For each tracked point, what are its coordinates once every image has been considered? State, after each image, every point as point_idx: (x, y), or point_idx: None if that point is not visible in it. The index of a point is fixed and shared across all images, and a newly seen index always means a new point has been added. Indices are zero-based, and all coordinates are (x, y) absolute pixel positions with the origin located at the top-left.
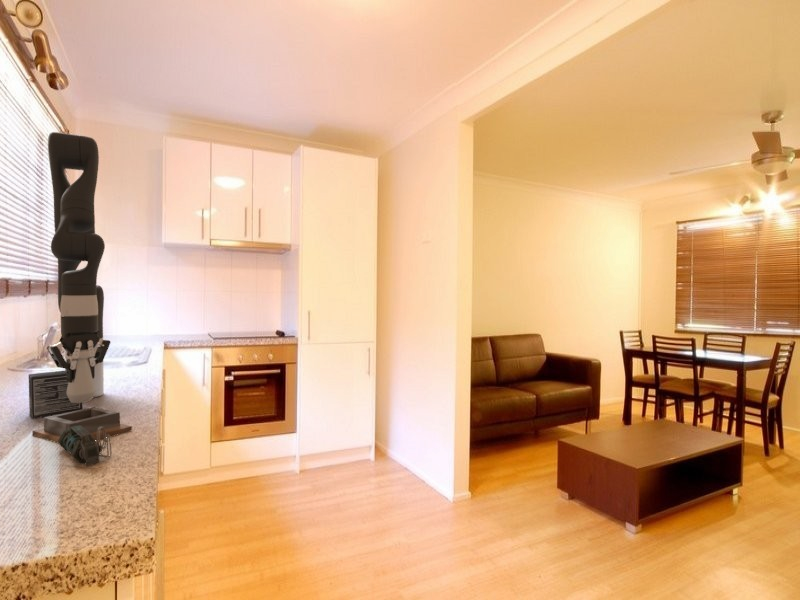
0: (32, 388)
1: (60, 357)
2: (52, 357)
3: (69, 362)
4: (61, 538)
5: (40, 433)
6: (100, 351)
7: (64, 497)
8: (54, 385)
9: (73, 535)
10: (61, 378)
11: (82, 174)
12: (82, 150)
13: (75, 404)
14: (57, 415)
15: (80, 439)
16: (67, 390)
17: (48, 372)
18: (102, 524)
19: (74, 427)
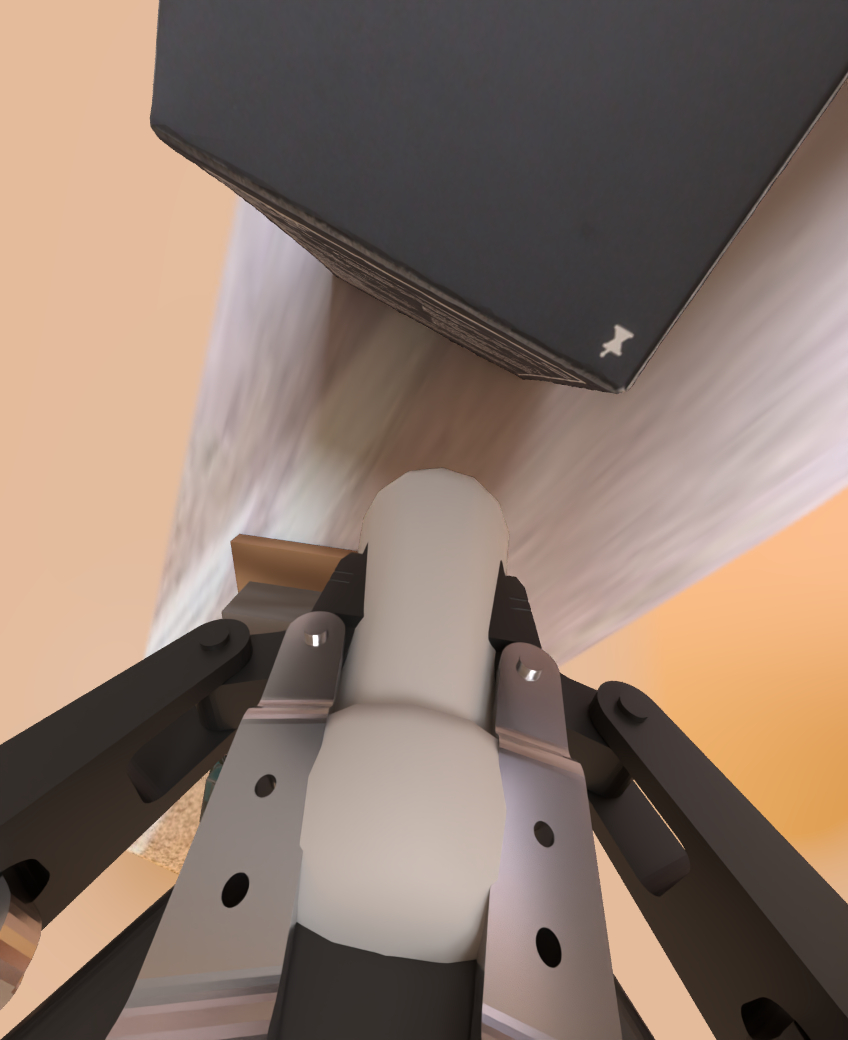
0: (249, 203)
1: (111, 826)
2: (28, 747)
3: (310, 683)
4: (149, 846)
5: (238, 583)
6: (671, 923)
7: (176, 807)
8: (398, 292)
9: (158, 850)
10: (446, 309)
11: None
12: None
13: (505, 365)
14: (260, 626)
15: None
16: (362, 529)
17: None
18: (183, 855)
19: (211, 786)
